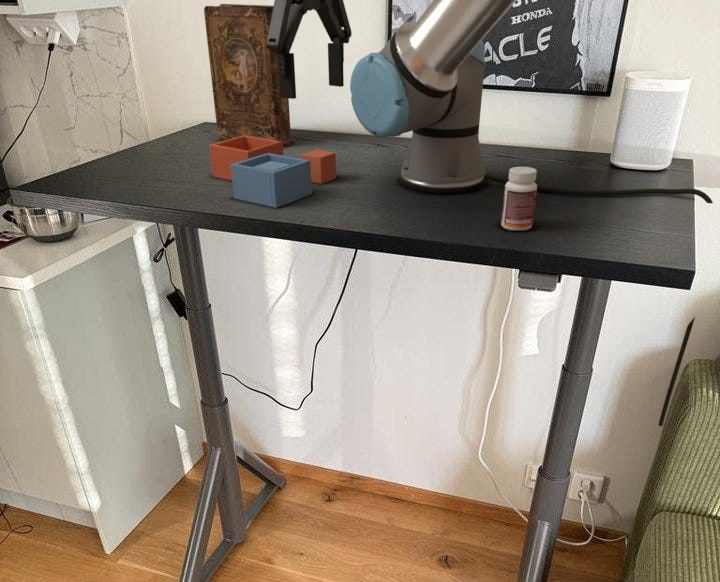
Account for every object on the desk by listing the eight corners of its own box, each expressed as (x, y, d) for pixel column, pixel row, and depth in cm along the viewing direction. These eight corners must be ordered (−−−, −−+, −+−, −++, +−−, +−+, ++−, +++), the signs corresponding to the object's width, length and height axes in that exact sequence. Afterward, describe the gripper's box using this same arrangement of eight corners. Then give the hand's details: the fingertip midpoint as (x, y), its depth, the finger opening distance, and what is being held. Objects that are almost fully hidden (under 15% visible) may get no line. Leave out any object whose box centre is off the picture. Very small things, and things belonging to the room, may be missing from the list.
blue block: (292, 191, 127) (290, 164, 124) (276, 198, 124) (273, 170, 121) (272, 187, 129) (270, 160, 126) (255, 194, 126) (253, 166, 123)
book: (295, 142, 158) (287, 6, 143) (281, 148, 154) (272, 8, 139) (232, 135, 164) (219, 3, 149) (218, 140, 160) (202, 5, 145)
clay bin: (284, 173, 139) (282, 141, 135) (250, 184, 133) (247, 151, 129) (247, 165, 143) (244, 134, 140) (212, 176, 137) (209, 144, 134)
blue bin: (312, 194, 128) (310, 160, 124) (276, 208, 121) (273, 172, 118) (270, 185, 132) (268, 152, 129) (234, 198, 126) (230, 164, 122)
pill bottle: (537, 229, 112) (545, 172, 107) (510, 233, 111) (517, 175, 105) (522, 220, 115) (529, 164, 110) (495, 223, 114) (501, 167, 109)
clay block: (336, 178, 135) (335, 152, 133) (321, 184, 133) (320, 157, 130) (317, 174, 138) (316, 149, 135) (302, 180, 135) (300, 154, 132)
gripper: (334, -63, 123) (337, 79, 136) (234, -61, 106) (248, 101, 119) (371, -63, 119) (371, 83, 132) (273, -61, 103) (284, 105, 116)
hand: (313, 91), depth 126 cm, fingers open, 13 cm apart
